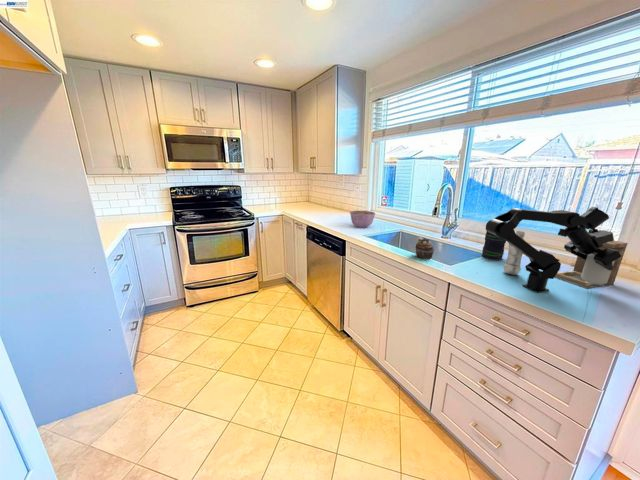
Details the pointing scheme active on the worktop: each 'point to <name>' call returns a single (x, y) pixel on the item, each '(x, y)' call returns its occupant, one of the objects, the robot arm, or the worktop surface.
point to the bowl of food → (362, 218)
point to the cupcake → (424, 249)
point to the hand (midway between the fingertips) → (601, 266)
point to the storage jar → (493, 247)
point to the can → (595, 272)
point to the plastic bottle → (513, 258)
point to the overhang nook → (575, 275)
